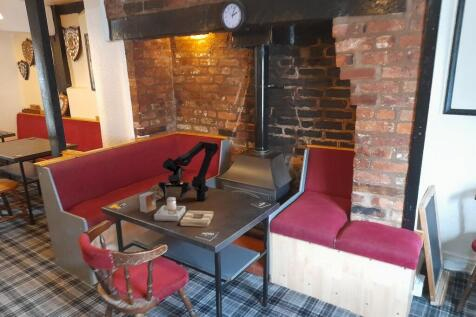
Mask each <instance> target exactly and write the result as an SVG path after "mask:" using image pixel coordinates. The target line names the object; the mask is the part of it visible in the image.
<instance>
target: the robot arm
mask: <svg viewBox="0 0 476 317" xmlns="http://www.w3.org/2000/svg"><path fill="white" fill-rule="evenodd" d="M219 148H220V146H219V145H218V143H217V142H210V141H209V142H207V141H204V140H203V141H202V140H200V141H198V143H196V145H194V146H193V147H192V148H191V149H189V150H188V151H187V152H185V153H182V154H179V156H177V157H176V158H175V159H174V160H173V159H172V157H168V158H167V159H166V160H164V161H163V162H162V168H163V169H165V170H167V171H168V172H169V173H171V174H168V176H167V181H168V183H167V182H166V181H159V182H158V184H157V185H158V186H159V188H160V189H161V190H162V191H163V193H164V196H163V200H167V197H168V196H167V195H168V188H181V190H180V196H179V200H180V201H181V200H182V199H183V197H184V196H185V195H186V193H187V192H189V191H192V188H193V190H194V191H196V198H195V199H194V200H195V201H198V202H205V201H206V200H207V199H208V197H207V195H206V193H207V192H208V191H209V187H208V186H207V185H206V183H207V181H206V176H207V174H208V171H209V167H210V165H211V162H212V159H213V157H214V156H215V155H217V152H218V151H219ZM203 150H204V153H205V154H204V156H203V157H204V158H203V159H202V163H201V165H200V168H199V171H198V174H197V175H196V176H193V177H192V181H191V183H190V182H189V181H183V182H182V180H183V178H182V176H183V173H184V172H186V169H185V168H187V167H188V166H189V165H190V164H191V162H192V161H193V160H192V159H193V158H195V157H196V156H197V155H198V154H199V153H200V152H202V151H203ZM184 167H185V168H184Z"/></svg>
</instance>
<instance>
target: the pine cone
mask: <svg viewBox="0 0 476 317" xmlns="http://www.w3.org/2000/svg"><path fill="white" fill-rule="evenodd" d="M148 191H149V192H153V193H155V201H156V202H157V201H158V200H161V199H162V197H163V198H164V193H163V191H162V190H161V189H160V188H159V186H158V184H155V185H153V186H151V188H150V190H148ZM138 200H139V197H138Z"/></svg>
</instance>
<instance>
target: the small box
mask: <svg viewBox="0 0 476 317" xmlns="http://www.w3.org/2000/svg"><path fill="white" fill-rule="evenodd" d="M138 198H139V199H138V200H139V208H140V209H139V210H140V212H141V213H147V214H148V213H149V212H152V211H154V210H156V209H157V201H155V193H153V192H150V191H149V190H148V191H147V192H146V191H145V192H143V193H141V194H139V195H138Z"/></svg>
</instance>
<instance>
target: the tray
mask: <svg viewBox="0 0 476 317" xmlns="http://www.w3.org/2000/svg"><path fill="white" fill-rule="evenodd" d="M176 211H177V215H168V210H167V205H165V204H164V205H162V206H160V207H159V209H158V210H157V211H156V212H155V213H154V215H153V218H154V221H157V222H159V221H160V222H179V221H181V220H182V218H183V217H184V216H185V214H186V213H187V211H186V206H185V205H176Z"/></svg>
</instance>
